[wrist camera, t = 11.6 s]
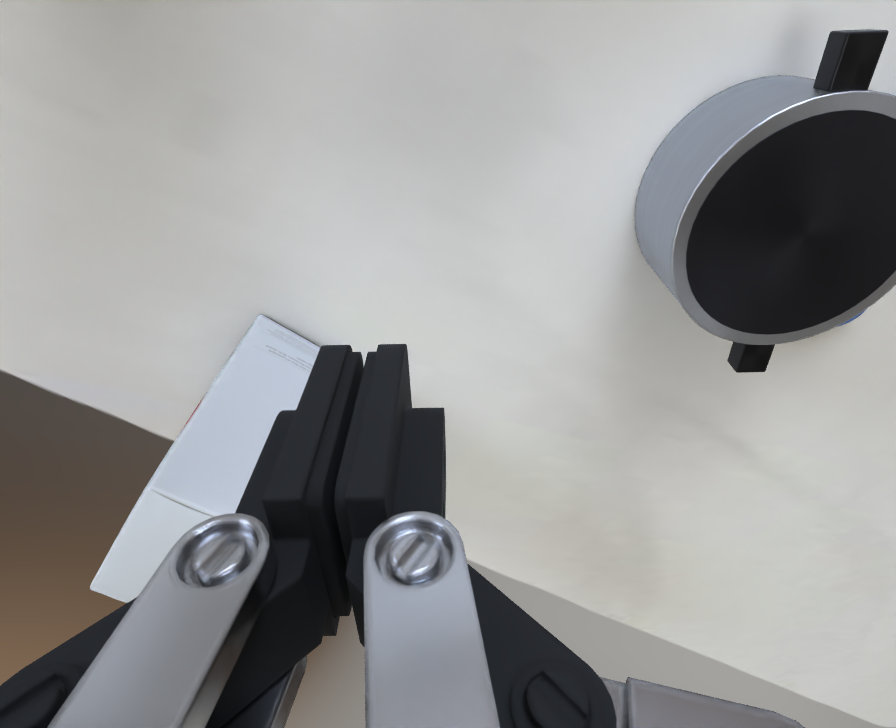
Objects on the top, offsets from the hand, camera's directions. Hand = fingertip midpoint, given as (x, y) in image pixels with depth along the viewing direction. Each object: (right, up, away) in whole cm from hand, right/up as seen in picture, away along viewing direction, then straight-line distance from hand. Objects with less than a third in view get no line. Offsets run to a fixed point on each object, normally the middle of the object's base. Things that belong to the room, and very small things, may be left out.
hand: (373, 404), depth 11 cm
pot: (+18, +10, +18) cm, 28 cm away
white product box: (-10, -1, +26) cm, 28 cm away
